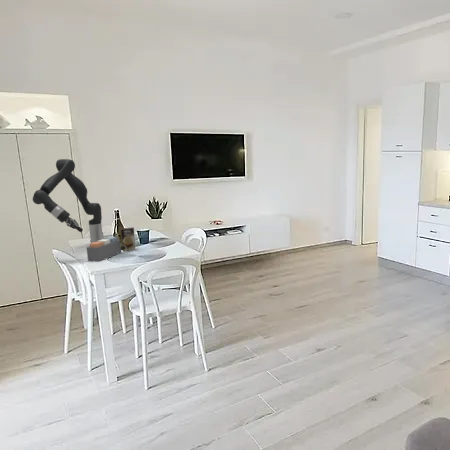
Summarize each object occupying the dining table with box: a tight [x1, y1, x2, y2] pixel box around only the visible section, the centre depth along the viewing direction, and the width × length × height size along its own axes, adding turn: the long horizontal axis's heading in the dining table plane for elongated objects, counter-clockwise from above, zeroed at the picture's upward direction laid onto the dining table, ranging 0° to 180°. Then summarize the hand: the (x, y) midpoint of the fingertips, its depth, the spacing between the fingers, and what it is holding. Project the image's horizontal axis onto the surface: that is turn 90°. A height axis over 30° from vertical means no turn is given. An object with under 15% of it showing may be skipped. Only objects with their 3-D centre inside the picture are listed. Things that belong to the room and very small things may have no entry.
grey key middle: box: [97, 238, 110, 245], centre depth 265 cm, size 6×6×3 cm
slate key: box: [104, 236, 118, 242], centre depth 273 cm, size 6×6×3 cm
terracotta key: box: [89, 242, 103, 248], centre depth 258 cm, size 6×6×3 cm
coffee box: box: [120, 227, 137, 252], centre depth 281 cm, size 9×6×16 cm
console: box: [86, 239, 122, 262], centre depth 266 cm, size 25×9×9 cm, turn 161°
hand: (81, 231), depth 255 cm, fingers closed
